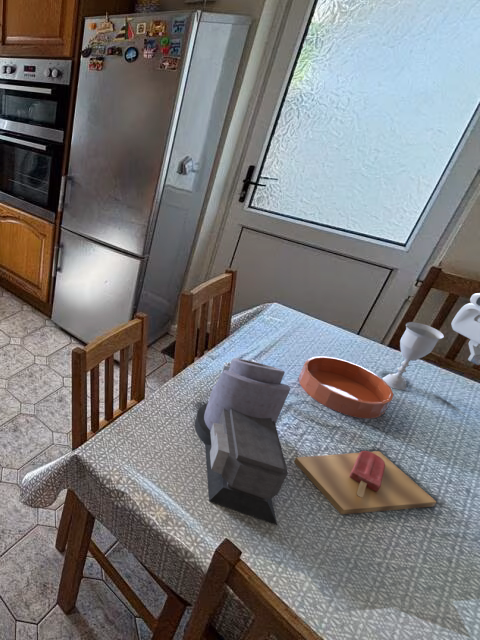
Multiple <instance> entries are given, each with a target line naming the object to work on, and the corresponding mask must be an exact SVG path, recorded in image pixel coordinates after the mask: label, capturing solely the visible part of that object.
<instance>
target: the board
mask: <svg viewBox="0 0 480 640" xmlns="http://www.w3.org/2000/svg"><path fill="white" fill-rule="evenodd" d="M371 452H372V453H374V454H376V455H378V456H379V457H380V458H382V459H383V461H384V462H385V469H384V474H383V478H382V482H381V487H380V488H379V490H378V492H376V491H374V490H372V489H370V488H368V487H367V486H366V489H365V492H364V495H363V497H362V498H361V497H359V496H357V491H358V488H359V485H360V483H359V482H357V481H355V480H354V479H352V478H350V477H349V476H350V473H351V471H352V469H353V466H354V464H355V462H356V460H357V457H358V455H359V454H360V452H351V453H350V452H348V453H336V454H323V455H310V456H296V457H295V459H294V460H293V463H294V464H295V465H296V467H298V468H299V470H300V471H301V472H302V473H303V474H304V475H305V476H306V477H307V478H308V480H309V481H310V482H311V483H312V484H313V485H314V486H315V487H316V488H317V490H318V491H319V492H320V493H321V494H322V495H323V496H324V498H325V499H327V501H328V502H329V503H330V504H331V505H332V506H333V507H334V509H335V510H336V511H337V512H338V513H339V514H340V515H350V514H352V515H353V514H362V513H363V514H364V513H374V512H376V513H377V512H385V511H398V510H399V511H401V510H407V509H408V510H410V509H421V508H432V507H435V505H436V504H437V501H436V500H435V499H434V497H432V496H431V495H429V493H428V492H426V491H425V490H424V489H423V488H422V487H420V486H419V484H417V483H416V482H415V481H414V480H413V479H412V478H410V476H409V475H407V474H406V473H405V472H404V471H403V470H401V469H400V468H399V467H398V466H397V465H396V464H395V463H394V462H392V461H391V460H390V459H389V458H387V456H385V455H384V454H383V452H381V451H379V450H375V451H371Z"/></svg>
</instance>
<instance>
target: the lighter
mask: <svg viewBox="0 0 480 640" xmlns="http://www.w3.org/2000/svg"><path fill="white" fill-rule="evenodd" d="M250 361H252V362H257V361H256V360H254V359H251V360H250ZM231 362H232V361H229V362H226V361H225V362H223V365H222V369H221V372H220V374H221V373H222V372H223V371H224V370H227V371H229V368H230V365H231Z"/></svg>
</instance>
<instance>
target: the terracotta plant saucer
mask: <svg viewBox="0 0 480 640" xmlns="http://www.w3.org/2000/svg"><path fill="white" fill-rule="evenodd" d="M298 383H299V385H300V387H301V388H302V390H303V391H304V392H305V393H306V394H307V395H308V396H309V397H310V398H312V399H313V400H315V401H316V402H318V403H319V404H320V405H322V406H325V407H327V408H328V409H330V410H331V411H332V410H333V411H336V412H337V413H340V414H343V415H345V416H349V417H352V418H353V417H354V418H357V419H367V420H368V419H376V418H380V417H382V416H383V415H384V414H385V413H386V411H387V410H388V407H389V406H390V404H391V402H392V401H393V398H394V395H395V394H394V392H393V389H392V387H390V386H389V385H388V384H387V383H386V382H385V381H384V380H383V379H382V377H380V376H378V375H377V374H375V373H374V372H373V371H371V370H369V369H367V368H365V367H363V366H361V365H359V364H356V363H354V362H351V361H349V360H345V359H341V358H339V357H332V356H326V355H325V356H324V355H322V356H319V355H318V356H312V357H309V358H308V359H306V360H305V362H304V364H303V366H302V368H301V371H300V372H299V374H298Z"/></svg>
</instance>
